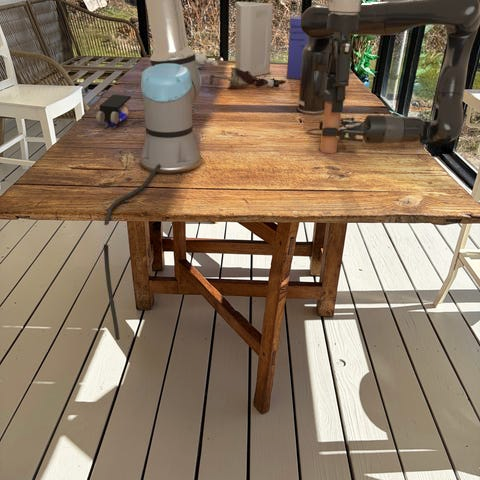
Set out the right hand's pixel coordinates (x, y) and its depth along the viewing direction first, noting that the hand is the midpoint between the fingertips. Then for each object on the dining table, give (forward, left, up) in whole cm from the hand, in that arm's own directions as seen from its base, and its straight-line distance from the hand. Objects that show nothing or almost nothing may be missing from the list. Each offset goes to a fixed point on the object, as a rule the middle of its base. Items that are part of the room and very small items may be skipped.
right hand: (321, 128), depth 130 cm
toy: (-108, -48, -6) cm, 118 cm away
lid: (0, +3, +10) cm, 10 cm away
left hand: (0, +3, +6) cm, 6 cm away
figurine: (-69, -19, -6) cm, 72 cm away
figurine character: (-21, -61, -6) cm, 65 cm away
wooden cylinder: (0, +3, -6) cm, 7 cm away
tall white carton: (-99, -16, -6) cm, 101 cm away
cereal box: (-89, +7, -6) cm, 90 cm away
